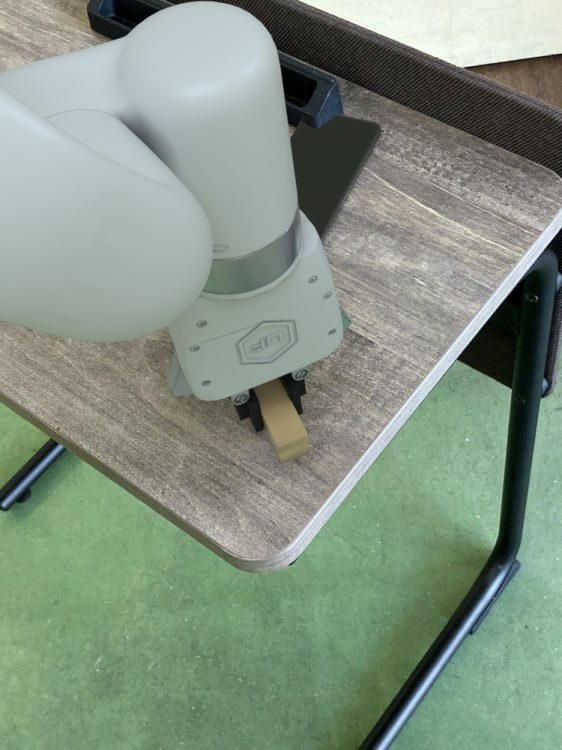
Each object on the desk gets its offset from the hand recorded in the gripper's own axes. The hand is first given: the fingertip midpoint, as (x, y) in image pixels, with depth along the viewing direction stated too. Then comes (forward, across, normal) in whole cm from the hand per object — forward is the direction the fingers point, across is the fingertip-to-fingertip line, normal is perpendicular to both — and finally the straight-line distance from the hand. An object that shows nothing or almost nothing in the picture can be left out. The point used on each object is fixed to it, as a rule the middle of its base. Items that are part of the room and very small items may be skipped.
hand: (271, 406), depth 67 cm
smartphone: (+3, +12, +21) cm, 24 cm away
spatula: (0, 0, +3) cm, 3 cm away
